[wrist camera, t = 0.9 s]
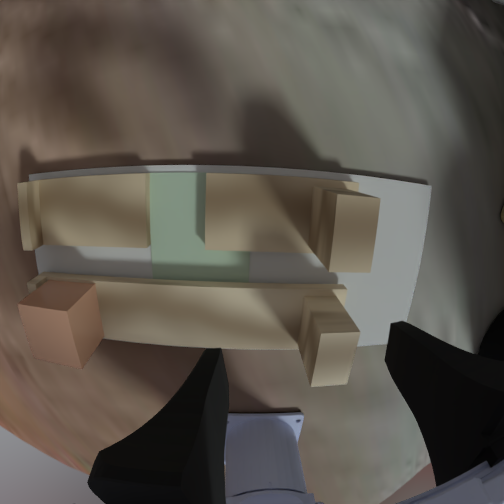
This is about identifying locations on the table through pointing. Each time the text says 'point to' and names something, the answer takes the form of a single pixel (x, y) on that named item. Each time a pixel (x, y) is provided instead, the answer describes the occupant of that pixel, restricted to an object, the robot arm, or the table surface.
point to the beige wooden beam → (229, 317)
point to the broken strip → (209, 215)
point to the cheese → (502, 215)
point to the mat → (259, 263)
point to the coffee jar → (494, 340)
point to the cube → (62, 322)
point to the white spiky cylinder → (499, 2)
